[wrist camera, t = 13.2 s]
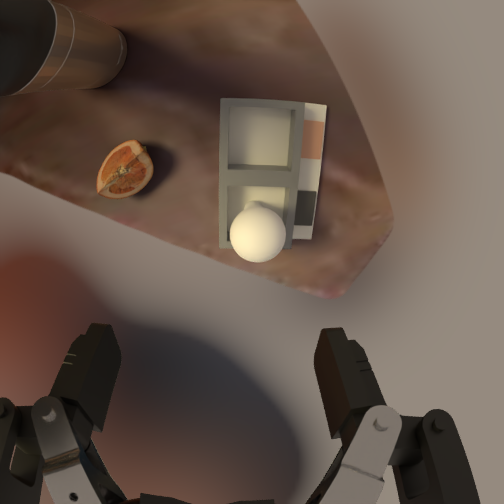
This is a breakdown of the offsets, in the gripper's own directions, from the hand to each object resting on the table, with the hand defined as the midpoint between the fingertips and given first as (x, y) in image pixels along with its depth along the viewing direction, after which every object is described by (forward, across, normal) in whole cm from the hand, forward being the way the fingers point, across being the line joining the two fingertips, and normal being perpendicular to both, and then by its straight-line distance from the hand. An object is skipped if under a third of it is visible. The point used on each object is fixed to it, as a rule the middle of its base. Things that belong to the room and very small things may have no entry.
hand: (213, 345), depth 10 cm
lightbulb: (+30, -3, +6) cm, 30 cm away
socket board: (+30, -6, +1) cm, 31 cm away
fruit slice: (+30, +13, 0) cm, 33 cm away
